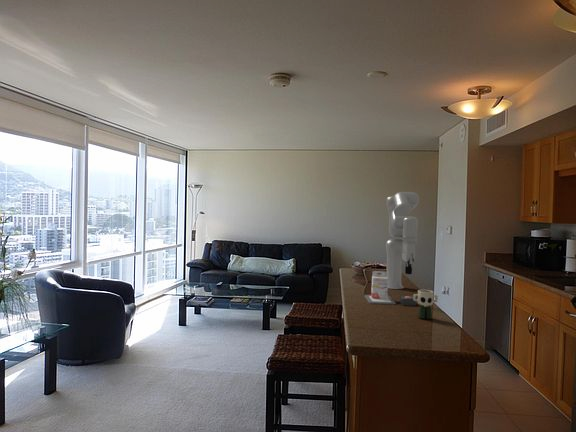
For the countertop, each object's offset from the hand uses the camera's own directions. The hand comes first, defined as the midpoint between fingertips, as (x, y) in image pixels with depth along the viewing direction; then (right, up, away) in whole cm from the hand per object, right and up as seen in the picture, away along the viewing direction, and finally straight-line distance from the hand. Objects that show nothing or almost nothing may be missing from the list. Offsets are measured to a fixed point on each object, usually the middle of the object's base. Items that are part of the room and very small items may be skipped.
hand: (408, 273), depth 227 cm
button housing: (-1, -16, 0) cm, 16 cm away
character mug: (-1, -17, -29) cm, 34 cm away
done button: (0, -15, 0) cm, 15 cm away
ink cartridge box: (-14, -15, +8) cm, 22 cm away
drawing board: (-14, -16, +6) cm, 22 cm away
